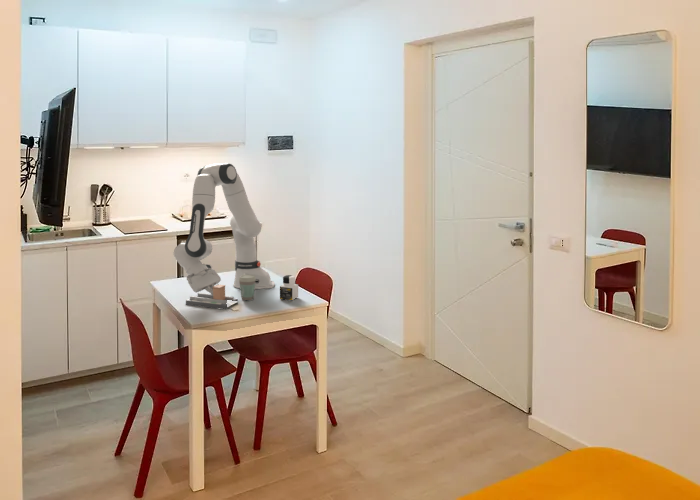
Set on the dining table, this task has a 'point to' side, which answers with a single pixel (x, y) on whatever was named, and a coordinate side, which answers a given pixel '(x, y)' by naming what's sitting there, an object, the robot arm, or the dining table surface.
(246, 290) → the coffee cup
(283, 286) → the medicine bottle
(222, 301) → the switch board
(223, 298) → the switch tab
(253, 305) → the dining table surface
